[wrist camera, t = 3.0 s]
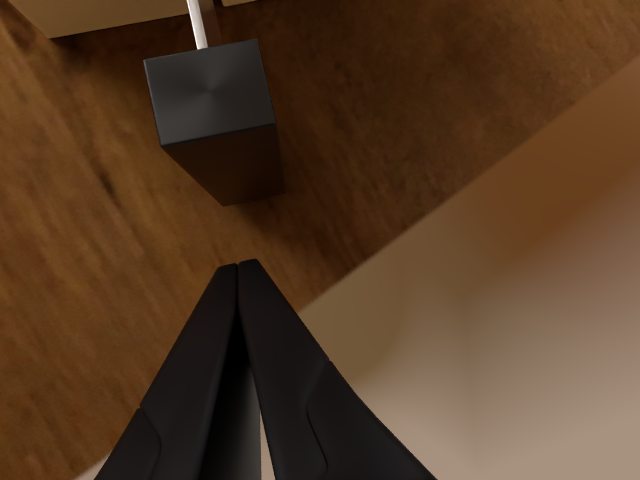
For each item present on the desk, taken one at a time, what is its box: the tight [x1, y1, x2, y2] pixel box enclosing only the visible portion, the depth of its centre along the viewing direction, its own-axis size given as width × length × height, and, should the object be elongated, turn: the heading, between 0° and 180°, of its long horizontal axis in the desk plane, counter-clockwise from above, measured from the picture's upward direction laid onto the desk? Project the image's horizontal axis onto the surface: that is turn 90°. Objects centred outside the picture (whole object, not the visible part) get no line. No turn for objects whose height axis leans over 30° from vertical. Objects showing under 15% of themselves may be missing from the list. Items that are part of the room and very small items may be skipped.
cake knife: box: [143, 0, 286, 206], centre depth 15 cm, size 10×3×8 cm, turn 13°
